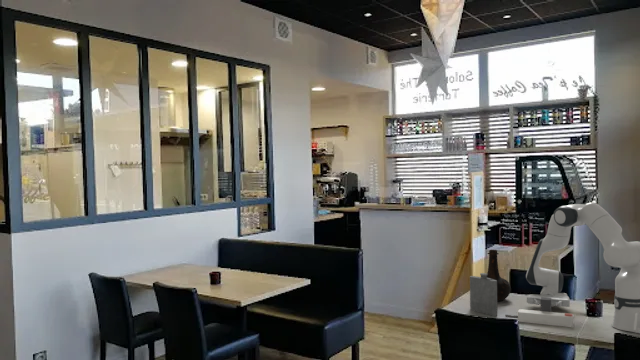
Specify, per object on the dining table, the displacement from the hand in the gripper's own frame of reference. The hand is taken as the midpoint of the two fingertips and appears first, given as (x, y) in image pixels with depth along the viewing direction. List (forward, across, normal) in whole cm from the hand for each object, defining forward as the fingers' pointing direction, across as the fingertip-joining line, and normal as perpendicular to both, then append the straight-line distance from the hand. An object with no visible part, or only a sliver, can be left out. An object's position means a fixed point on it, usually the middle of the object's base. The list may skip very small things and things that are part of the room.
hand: (547, 304), depth 262 cm
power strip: (+15, -3, +5) cm, 16 cm away
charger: (+9, 0, +5) cm, 11 cm away
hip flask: (+7, -30, +6) cm, 31 cm away
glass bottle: (-23, -29, +6) cm, 37 cm away
